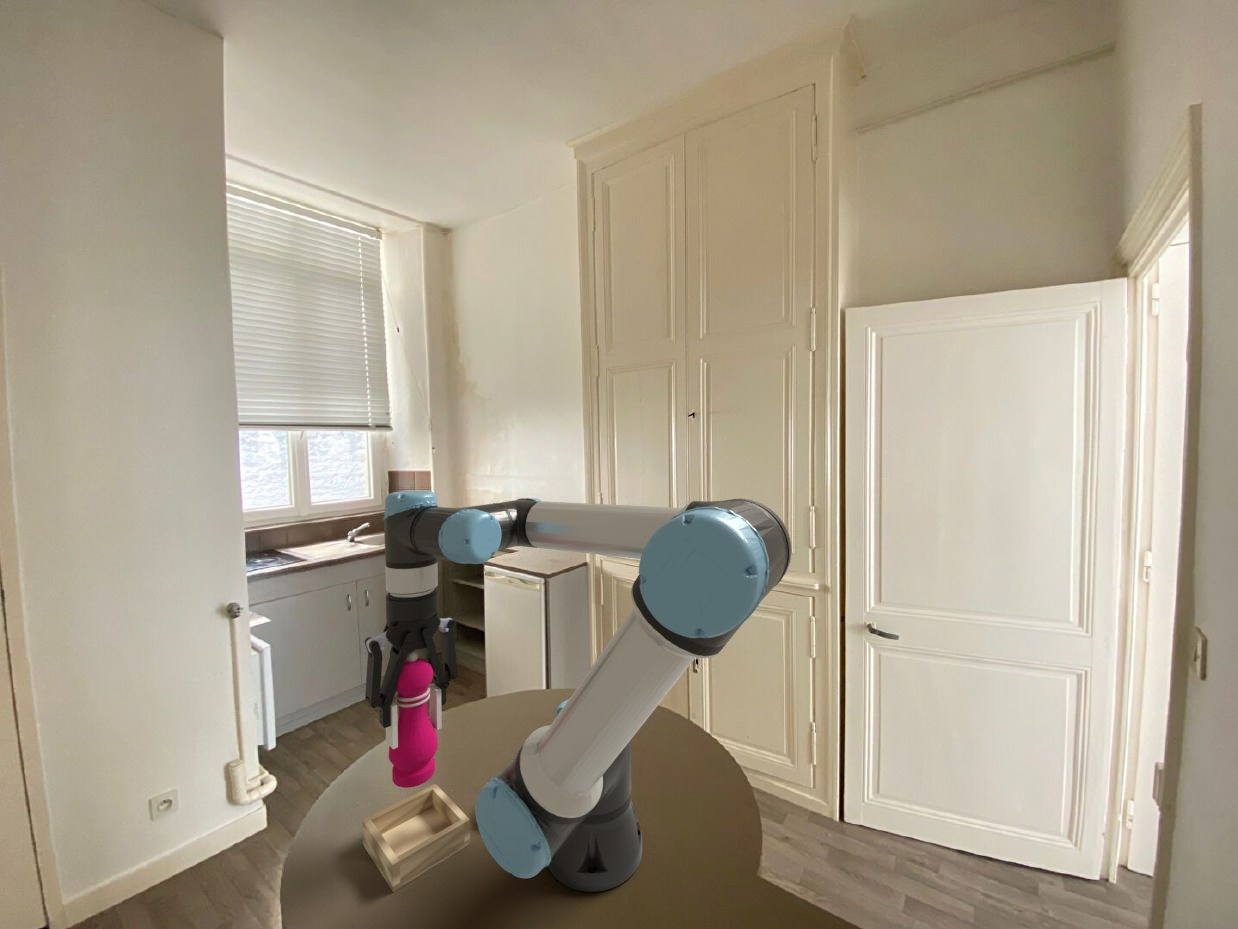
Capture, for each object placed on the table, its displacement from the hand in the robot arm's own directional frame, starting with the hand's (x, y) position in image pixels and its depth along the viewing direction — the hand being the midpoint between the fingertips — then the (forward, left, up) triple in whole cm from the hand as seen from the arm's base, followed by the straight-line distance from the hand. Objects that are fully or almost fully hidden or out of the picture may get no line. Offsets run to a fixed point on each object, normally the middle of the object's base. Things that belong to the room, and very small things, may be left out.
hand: (414, 734), depth 78 cm
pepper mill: (0, 0, -7) cm, 7 cm away
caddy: (0, 0, -18) cm, 18 cm away
